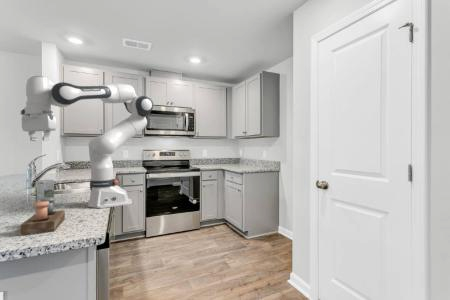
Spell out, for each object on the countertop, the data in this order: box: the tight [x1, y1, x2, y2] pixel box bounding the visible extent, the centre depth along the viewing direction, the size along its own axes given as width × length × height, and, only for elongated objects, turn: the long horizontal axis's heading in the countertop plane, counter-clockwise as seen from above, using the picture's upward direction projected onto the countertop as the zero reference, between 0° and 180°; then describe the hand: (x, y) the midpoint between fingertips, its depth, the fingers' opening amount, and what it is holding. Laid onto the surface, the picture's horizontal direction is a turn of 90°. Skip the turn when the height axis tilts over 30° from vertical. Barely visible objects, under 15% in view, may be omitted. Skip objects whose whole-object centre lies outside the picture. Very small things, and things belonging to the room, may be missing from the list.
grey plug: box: [41, 196, 56, 214], centre depth 92 cm, size 5×5×6 cm
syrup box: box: [34, 179, 55, 203], centre depth 118 cm, size 6×6×14 cm
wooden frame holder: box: [20, 210, 66, 237], centre depth 89 cm, size 10×16×4 cm, turn 25°
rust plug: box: [32, 201, 49, 220], centre depth 85 cm, size 5×5×6 cm
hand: (39, 140), depth 102 cm, fingers open, 8 cm apart
